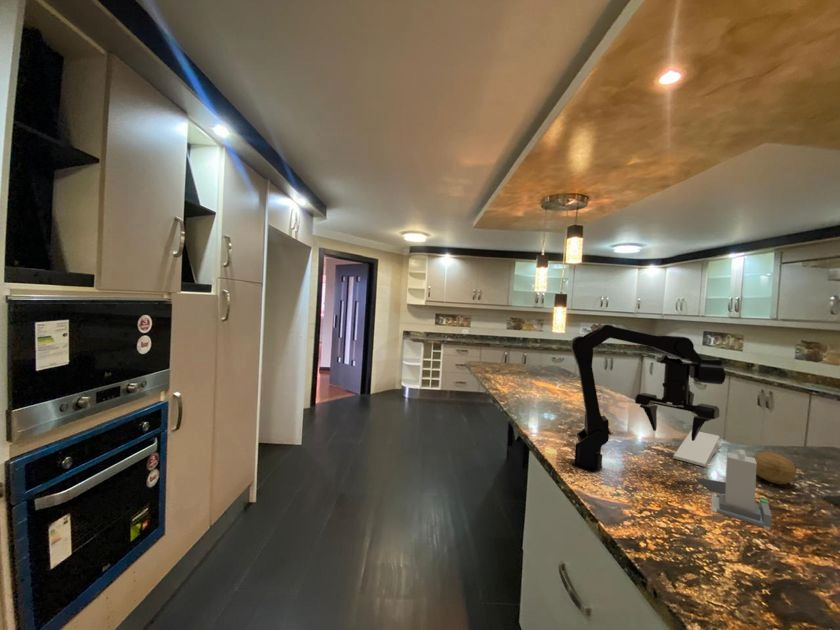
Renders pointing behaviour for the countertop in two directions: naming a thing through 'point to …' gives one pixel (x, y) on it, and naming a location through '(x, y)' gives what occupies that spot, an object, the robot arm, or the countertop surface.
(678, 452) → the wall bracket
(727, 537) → the countertop surface
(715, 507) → the port
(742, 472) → the plug
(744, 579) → the countertop surface
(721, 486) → the pad
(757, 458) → the potato
